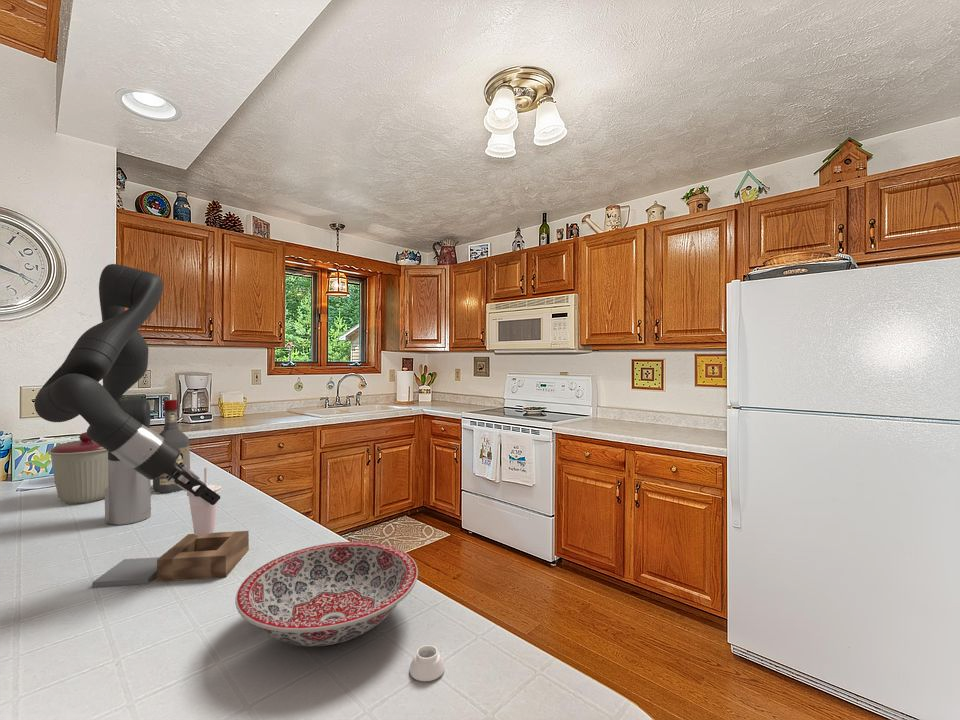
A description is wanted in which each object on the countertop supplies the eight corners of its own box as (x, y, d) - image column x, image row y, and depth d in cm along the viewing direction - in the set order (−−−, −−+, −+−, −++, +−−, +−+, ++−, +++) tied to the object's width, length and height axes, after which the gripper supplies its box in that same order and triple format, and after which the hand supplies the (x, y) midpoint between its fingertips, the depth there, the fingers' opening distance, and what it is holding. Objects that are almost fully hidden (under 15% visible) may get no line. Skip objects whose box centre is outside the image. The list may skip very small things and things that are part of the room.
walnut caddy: (157, 581, 92) (156, 559, 92) (188, 553, 105) (188, 534, 105) (226, 577, 94) (225, 555, 94) (248, 549, 107) (248, 530, 107)
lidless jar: (408, 685, 64) (444, 683, 64) (408, 664, 64) (444, 662, 64) (411, 661, 69) (444, 659, 69) (411, 641, 69) (444, 640, 69)
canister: (134, 496, 147) (133, 430, 146) (60, 513, 132) (58, 440, 131) (111, 487, 157) (109, 425, 156) (39, 501, 141) (38, 433, 141)
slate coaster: (92, 587, 90) (92, 582, 90) (124, 563, 100) (124, 559, 100) (147, 583, 92) (147, 578, 92) (173, 560, 102) (173, 556, 102)
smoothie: (227, 527, 102) (227, 465, 102) (207, 539, 96) (207, 472, 96) (201, 525, 103) (200, 464, 103) (179, 537, 97) (179, 471, 96)
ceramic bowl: (191, 657, 70) (190, 605, 70) (319, 570, 97) (319, 533, 97) (352, 708, 60) (351, 648, 59) (445, 595, 87) (445, 554, 87)
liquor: (150, 490, 153) (149, 400, 152) (180, 483, 160) (179, 398, 160) (162, 495, 148) (160, 402, 147) (192, 488, 155) (191, 399, 155)
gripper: (168, 442, 89) (235, 490, 97) (156, 431, 99) (217, 476, 108) (134, 474, 85) (207, 521, 94) (125, 460, 96) (191, 503, 104)
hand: (212, 497), depth 100 cm, fingers closed on smoothie, 6 cm apart
